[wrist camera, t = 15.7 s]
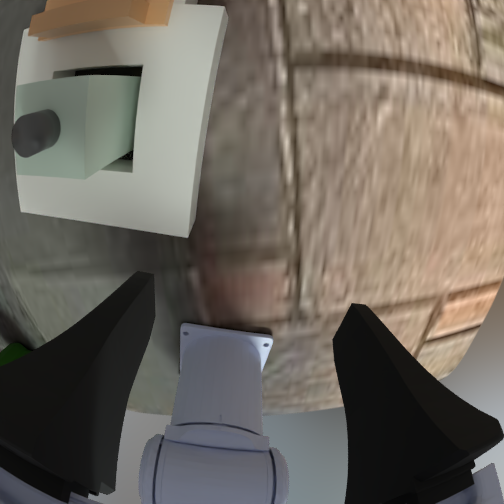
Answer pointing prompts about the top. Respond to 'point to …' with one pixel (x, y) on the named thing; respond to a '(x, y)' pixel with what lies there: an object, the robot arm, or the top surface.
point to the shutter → (97, 16)
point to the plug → (74, 124)
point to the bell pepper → (12, 353)
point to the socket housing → (137, 120)
